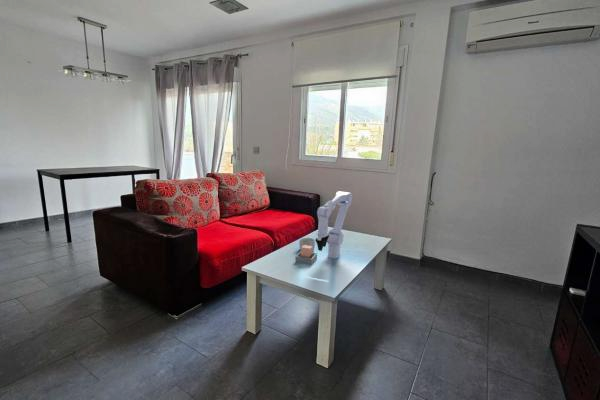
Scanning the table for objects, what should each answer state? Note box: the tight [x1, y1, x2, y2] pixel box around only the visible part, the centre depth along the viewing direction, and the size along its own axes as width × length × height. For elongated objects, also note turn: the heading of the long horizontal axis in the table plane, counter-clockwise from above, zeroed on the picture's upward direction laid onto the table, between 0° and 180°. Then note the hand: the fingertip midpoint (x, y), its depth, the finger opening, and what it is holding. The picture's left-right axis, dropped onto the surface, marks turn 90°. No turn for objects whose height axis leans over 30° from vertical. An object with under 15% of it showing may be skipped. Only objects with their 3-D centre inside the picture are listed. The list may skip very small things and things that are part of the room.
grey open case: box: [298, 236, 316, 251], centre depth 195 cm, size 14×11×8 cm
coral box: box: [300, 245, 314, 256], centre depth 174 cm, size 4×6×5 cm
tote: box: [294, 251, 318, 266], centre depth 175 cm, size 11×11×4 cm
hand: (321, 248), depth 170 cm, fingers open, 7 cm apart
